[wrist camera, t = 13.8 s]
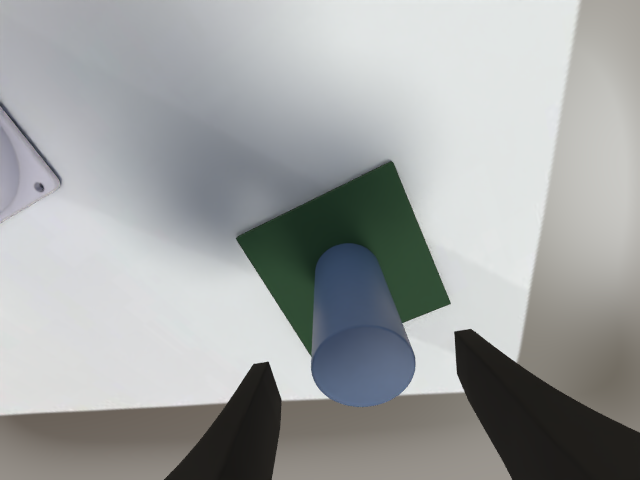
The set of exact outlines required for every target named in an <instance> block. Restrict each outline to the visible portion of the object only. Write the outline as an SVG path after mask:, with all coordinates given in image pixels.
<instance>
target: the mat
mask: <svg viewBox="0 0 640 480" xmlns="http://www.w3.org/2000/svg"><path fill="white" fill-rule="evenodd" d="M236 240H237V241H238V243H239V244H240V246H241V247H242V249H243V251H244V252H245V254H246V255H247V257H248V258H249V260H250V262H251V263H252V265H253V266H254V268H255V269H256V271H257V272H258V274H259V276H260V277H261V279H262V280H263V282H264V283H265V285H266V287H267V288H268V290H269V291H270V293H271V294H272V296H273V297H274V299H275V301H276V302H277V304H278V305H279V307H280V308H281V310H282V312H283V313H284V315H285V316H286V318H287V319H288V321H289V322H290V324H291V326H292V327H293V329H294V330H295V332H296V333H297V335H298V337H299V338H300V340H301V341H302V343H303V344H304V346H305V347H306V349H307V351H308V352H309V354H310V355H311V357H312V334H313V310H314V286H315V269H316V265H317V262H318V260H319V259H320V257H321V256H322V255H323V254H324V253H325V252H326V251H327V250H328V249H330V248H332V247H334V246H336V245H340V244H345V243H352V244H358V245H361V246H363V247H365V248H367V249H368V250H370V251H371V252H372V253H373V254H374V255H375V257H376V258H377V260H378V262H379V265H380V268H381V270H382V273H383V275H384V278H385V280H386V283H387V286H388V288H389V291H390V293H391V296H392V298H393V301H394V304H395V306H396V309H397V311H398V314H399V316H400V319H401V322H402V323H404V322H406V321H409V320H411V319H414V318H416V317H419V316H421V315H424V314H426V313H429V312H431V311H434V310H436V309H439V308H441V307H444V306H446V305H449V304H451V303H450V300H449V298H448V295H447V293H446V290H445V288H444V286H443V283H442V281H441V278H440V276H439V273H438V271H437V268H436V266H435V264H434V261H433V259H432V256H431V254H430V251H429V249H428V246H427V244H426V242H425V239H424V237H423V234H422V232H421V229H420V227H419V224H418V222H417V220H416V217H415V215H414V212H413V210H412V207H411V205H410V202H409V200H408V198H407V195H406V193H405V190H404V188H403V185H402V183H401V180H400V178H399V176H398V173H397V171H396V168H395V166H394V163H393V162H392V161H390V162H388V163H386V164H384V165H382V166H380V167H378V168H376V169H374V170H372V171H370V172H368V173H366V174H364V175H362V176H360V177H358V178H356V179H354V180H352V181H350V182H348V183H346V184H344V185H342V186H340V187H337V188H335V189H333V190H331V191H329V192H327V193H325V194H323V195H321V196H319V197H317V198H315V199H313V200H311V201H309V202H307V203H305V204H303V205H301V206H299V207H297V208H295V209H293V210H291V211H289V212H287V213H285V214H282V215H280V216H278V217H276V218H274V219H272V220H270V221H268V222H266V223H264V224H262V225H260V226H258V227H256V228H254V229H252V230H250V231H248V232H246V233H244V234H242V235H240V236H238V237H237V238H236Z"/></svg>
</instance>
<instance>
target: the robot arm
mask: <svg viewBox="0 0 640 480" xmlns="http://www.w3.org/2000/svg"><path fill="white" fill-rule="evenodd" d="M40 183H41V184H42V185H43V187H44V190H43V189H42V188H41V186H40ZM59 187H60V181H59V179H58V178H57V177H56V175H55V174H54V173H53V172H52V170H51V169H50V168H49V166H48V165H47V164H46V163H45V161H44V160H43V159H42V158H41V156H40V155H39V154H38V153H37V151H36V150H35V149H34V148H33V146H32V145H31V144H30V143H29V141H28V140H27V139H26V138H25V136H24V135H23V134H22V133H21V131H20V130H19V129H18V128H17V126H16V125H15V124H14V123H13V121H12V120H11V119H10V118H9V116H8V115H7V114H6V113H5V111H4V110H3V109H2V108H1V106H0V223H2V222H3V221H5V220H7V219H8V218H10V217H12V216H13V215H15V214H17V213H19V212H20V211H22V210H24V209H25V208H27V207H29V206H31V205H32V204H34V203H36V202H37V201H39V200H41V199H42V198H44V197H46V196H48V195H49V194H51V193H53V192H54V191H56V190H58V189H59ZM454 334H455V350H456V366H457V375H458V377H459V380H460V382H461V384H462V387H463V389H464V391H465V394H466V396H467V398H468V400H469V402H470V404H471V406H472V408H473V409H474V411H475V413H476V415H477V417H478V418H479V420H480V422H481V424H482V425H483V427H484V429H485V431H486V432H487V434H488V436H489V438H490V439H491V441H492V443H493V445H494V447H495V448H496V450H497V452H498V453H499V455H500V457H501V458H502V460H503V462H504V464H505V466H506V468H507V470H508V472H509V474H510V476H511V478H512V480H640V433H639V432H637V431H635V430H633V429H631V428H628V427H626V426H624V425H622V424H620V423H618V422H616V421H614V420H612V419H610V418H608V417H606V416H604V415H602V414H600V413H598V412H596V411H594V410H592V409H590V408H588V407H587V406H585V405H583V404H581V403H580V402H578V401H576V400H574V399H572V398H571V397H569V396H567V395H565V394H564V393H562V392H560V391H559V390H557V389H555V388H553V387H552V386H550V385H549V384H547V383H546V382H544V381H542V380H541V379H539V378H538V377H536V376H535V375H533V374H532V373H530V372H529V371H527V370H526V369H524V368H523V367H521V366H520V365H519V364H517V363H516V362H515V361H513V360H512V359H510V358H509V357H507V356H506V355H505V354H503V353H502V352H501V351H499V350H498V349H497V348H495V347H494V346H493V345H491V344H490V343H489V342H488V341H486V340H485V339H484V338H482V337H481V336H480V335H478V334H477V333H476V332H474V331H473V330H472V329H468V330H462V331H455V332H454ZM280 420H281V397H280V394H279V391H278V388H277V385H276V382H275V379H274V376H273V373H272V370H271V367H270V364H269V362H264V363H257V364H253V366H252V367H251V369H250V370H249V372H248V373H247V375H246V376H245V378H244V379H243V381H242V382H241V384H240V385H239V387H238V388H237V390H236V391H235V393H234V394H233V396H232V397H231V399H230V400H229V402H228V403H227V405H226V406H225V408H224V409H223V410H222V412H221V413H220V415H219V416H218V417H217V419H216V420H215V421H214V423H213V424H212V425H211V427H210V428H209V429H208V431H207V432H206V433H205V434H204V436H203V437H202V438H201V439H200V441H199V442H198V443H197V444H196V446H195V447H194V448H193V449H192V450H191V451H190V453H189V454H188V455H187V456H186V457H185V459H183V460H182V462H181V463H180V464H179V465H178V466H177V467H176V468H175V469H174V470H173V471H172V472H171V473H170V474H169V475H168V476H167V477H166V478H165V479H164V480H272V474H273V468H274V462H275V456H276V450H277V444H278V438H279V431H280Z"/></svg>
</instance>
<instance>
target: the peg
mask: <svg viewBox="0 0 640 480" xmlns="http://www.w3.org/2000/svg"><path fill="white" fill-rule="evenodd" d="M311 371H312V376H313V379H314V381H315V383H316V385H317V387H318V388H319V389H320V390H321V391H322V392H323V393H324V394H325V395H326V396H327V397H329V398H330V399H332V400H334V401H336V402H338V403H341V404H344V405H348V406H355V407H368V406H374V405H378V404H382V403H385V402H387V401H389V400H391V399H393V398H395V397H396V396H398V395H399V394H400V393H401V392H403V391H404V390H405V388H406V387H407V386H408V385H409V383H410V382H411V380H412V378H413V375H414V372H415V356H414V352H413V350H412V347H411V345H410V342H409V339H408V337H407V334H406V332H405V329H404V327H403V324H402V322H401V319H400V316H399V314H398V311H397V309H396V306H395V304H394V301H393V298H392V296H391V293H390V291H389V288H388V286H387V283H386V280H385V278H384V275H383V273H382V270H381V268H380V265H379V262H378V260H377V258H376V257H375V255H374V254H373V253H372V252H371V251H370V250H368V249H367V248H365V247H363V246H361V245H358V244H352V243H345V244H340V245H336V246H334V247H332V248H330V249H328V250H327V251H326V252H325V253H324V254H323V255H322V256H321V257H320V259H319V260H318V262H317V265H316V269H315V286H314V310H313V334H312V358H311Z"/></svg>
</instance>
